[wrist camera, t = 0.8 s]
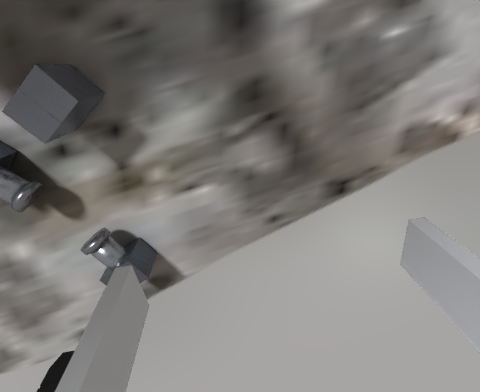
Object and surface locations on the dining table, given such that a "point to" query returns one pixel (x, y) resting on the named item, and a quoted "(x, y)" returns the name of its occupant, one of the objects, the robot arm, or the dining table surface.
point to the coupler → (53, 101)
